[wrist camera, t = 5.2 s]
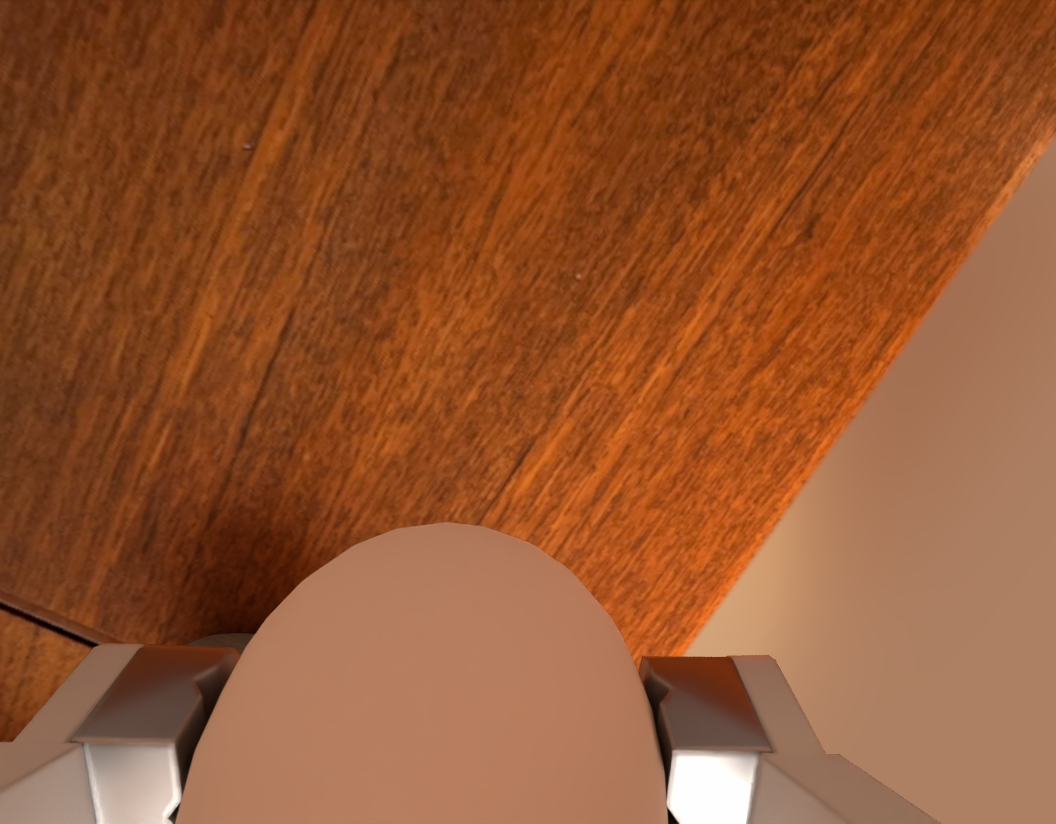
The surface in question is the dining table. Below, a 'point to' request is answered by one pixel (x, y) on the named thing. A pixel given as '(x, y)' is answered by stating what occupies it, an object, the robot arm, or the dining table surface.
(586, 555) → the dining table surface
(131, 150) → the dining table surface
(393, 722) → the egg
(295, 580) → the dining table surface
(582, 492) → the dining table surface
